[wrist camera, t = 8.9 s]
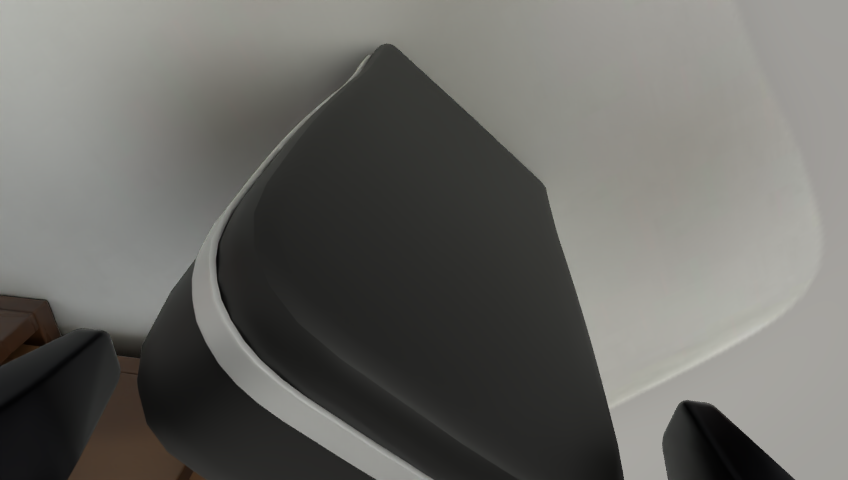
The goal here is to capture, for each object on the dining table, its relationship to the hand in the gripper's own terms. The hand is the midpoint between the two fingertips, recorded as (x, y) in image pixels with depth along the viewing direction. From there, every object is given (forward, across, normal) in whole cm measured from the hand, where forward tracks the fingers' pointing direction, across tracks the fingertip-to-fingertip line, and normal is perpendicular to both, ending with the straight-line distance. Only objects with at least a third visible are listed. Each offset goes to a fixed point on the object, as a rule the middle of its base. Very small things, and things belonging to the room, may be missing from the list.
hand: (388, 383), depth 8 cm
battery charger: (+9, 0, 0) cm, 9 cm away
